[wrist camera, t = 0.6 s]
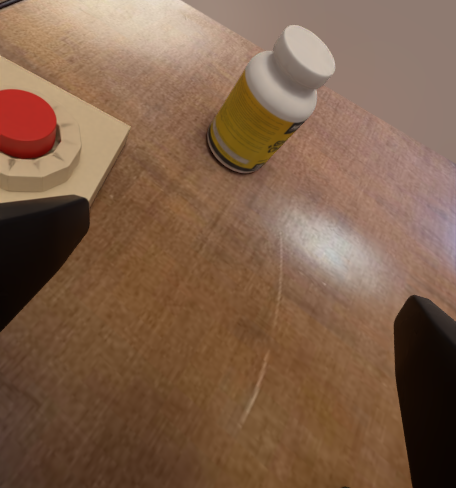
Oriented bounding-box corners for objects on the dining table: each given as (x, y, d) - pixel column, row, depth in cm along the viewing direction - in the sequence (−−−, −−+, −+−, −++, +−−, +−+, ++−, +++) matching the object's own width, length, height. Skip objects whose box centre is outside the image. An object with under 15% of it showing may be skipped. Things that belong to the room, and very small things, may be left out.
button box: (125, 143, 28) (136, 110, 25) (54, 270, 22) (58, 247, 19) (-4, 76, 25) (-9, 28, 22) (-126, 200, 19) (-159, 159, 16)
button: (65, 129, 22) (67, 110, 21) (37, 169, 20) (37, 151, 19) (7, 99, 21) (5, 78, 20) (-28, 138, 19) (-33, 118, 18)
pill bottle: (236, 186, 32) (319, 97, 23) (191, 133, 32) (255, 21, 23) (273, 160, 36) (357, 74, 26) (233, 112, 36) (303, 9, 26)
